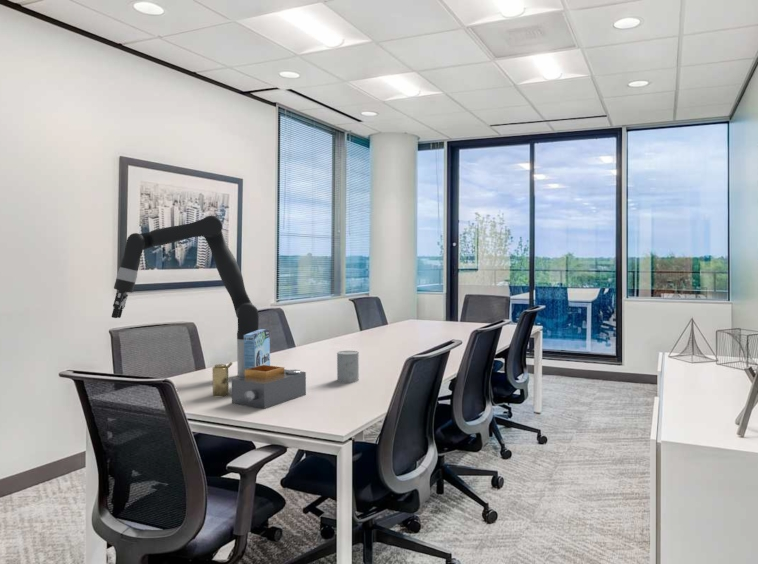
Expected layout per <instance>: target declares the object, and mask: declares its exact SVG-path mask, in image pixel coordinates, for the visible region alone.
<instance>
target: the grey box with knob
mask: <svg viewBox="0 0 758 564" xmlns="http://www.w3.org/2000/svg"><path fill="white" fill-rule="evenodd" d="M306 374H307V372H306V371H301V369H285V367H284V366H278V365H271V364H270V365H261V366H256V367H252V368H248V369H245V376H242V377H238V376H237V377H236V378H235V377H234V378H232V379H231V404H234V403H235V404H236V405H241V406H245V405H246V406H247V407H253V408H257V409H264V410H265V409H268V408H271V407H274V406H277V405H280V404H282V403H286V402H289V401H291V400H295V399H297V398H300V397H303V396H305V395H307V383H306V382H307V380H306V379H307V377H306V376H307V375H306ZM235 404H234V405H235Z"/></svg>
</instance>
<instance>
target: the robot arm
mask: <svg viewBox="0 0 758 564" xmlns="http://www.w3.org/2000/svg"><path fill="white" fill-rule="evenodd" d="M197 237H203V238H204V239H205V241H206V243H207V245H208V246H209V249H210V251H211V255H212V259H213V261H214V265H215V267H216V270H217V272H218V275H219V277H220V279H221V282H222V284H223V285H224V287H225V289H226V291H227V293H228V294H229V296H230V299H231V301H232V305H233V308H234V313H235V314H236V315H235V317H236V319H237V332H236V344H237V345H236V348H237V349H236V353H237V360H236V361H237V378H238V377H242V376H244V335H246V334H248V333H251V332H254V331H257V330H259V326H260V325H259V316H260V315H259V311H258V307H256V305H255V304H253V303H252V301H251V299H250V297H249V295H248V293H247V290H246V286H245V282H244V278H243V275H242V272H241V269H240V266H239V263H238V261H237V260H236V258H235V256H234V254H233V253H232V251H231V249H230V248H229V246H228V245H227V243H226V241H225V238H224V234H223V222H222V220H221V219H220V218H219V217H218V216H215V215H207V216H205V217H204V218H201V219H199V220H196V221H193V222H190V223H186V224H185V223H184V224H180V225H179V224H178V225H173V226H168V227H163V228H157V229H152V230H150V231H149V232H143V233H137V232H134V233H131V234H129V235H128V237H127V239H126V242H125V247H124V253H123V255H122V256H123V257H122V259H121V262H120V266H119V269H118V272H117V274H116V279H115V282H114V286H113V288H114V290H118V292H116V293H115V298H114V300H113V303H112V307H113V308H112V312H111V313H112V314H111V318H114V319H120V318H121V317H122V313H123V310H124V309H125V308H126V305H127V303H126V302H127V299H128V296H129V294H127V293H134V290H135V287H136V282H137V278H138V271H139V268H140V265H141V264H140V263H141V257H142V255H143V254H142V253H143V250H147V249H151V248H153V247H161V246H164V245H168V244H173V243H177V242H180V241H184V240H187V239H191V238H197Z"/></svg>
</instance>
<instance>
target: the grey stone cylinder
mask: <svg viewBox="0 0 758 564" xmlns="http://www.w3.org/2000/svg"><path fill="white" fill-rule="evenodd" d="M359 359H360V358H359V351H356V350H340V351H337V352H336V363H337V364H336V370H337V374H336V375H337V376H336V377H337V380H336V381H337V382H338V383H343V384H344V383H345V384H347V383H349V384H350V383H356V382H359V380H360V379H359V378H360V377H359V376H360V374H359V370H360V369H359V368H360V367H359V366H360V365H359V364H360V363H359Z"/></svg>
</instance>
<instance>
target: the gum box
mask: <svg viewBox="0 0 758 564" xmlns="http://www.w3.org/2000/svg"><path fill="white" fill-rule="evenodd" d="M270 338H271V337H270V329H268V328H267V329H266V328H265V329H263V328H262V329H259V328H258V330H257V331H254V332H251V333H248V334H246V335H244V376H245V369H248V368H252V367H256V366H261V365H270V366H271V348H270V347H271V346H270V343H271V342H270V341H271V340H270Z"/></svg>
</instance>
